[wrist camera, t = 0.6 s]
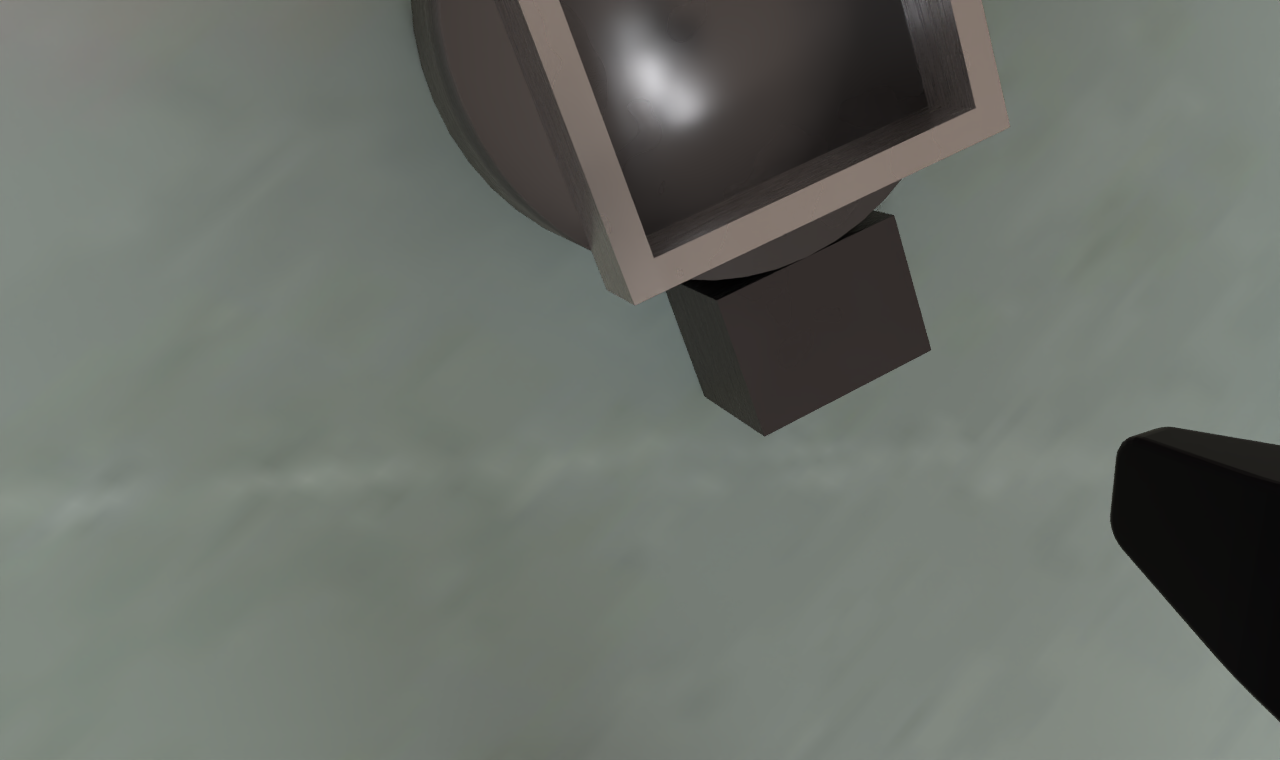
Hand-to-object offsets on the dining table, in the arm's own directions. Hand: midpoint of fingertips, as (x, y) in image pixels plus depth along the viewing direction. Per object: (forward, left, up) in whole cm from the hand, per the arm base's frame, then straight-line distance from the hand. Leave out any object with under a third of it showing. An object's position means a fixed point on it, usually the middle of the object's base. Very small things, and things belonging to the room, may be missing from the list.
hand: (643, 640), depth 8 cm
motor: (+2, -7, -14) cm, 16 cm away
